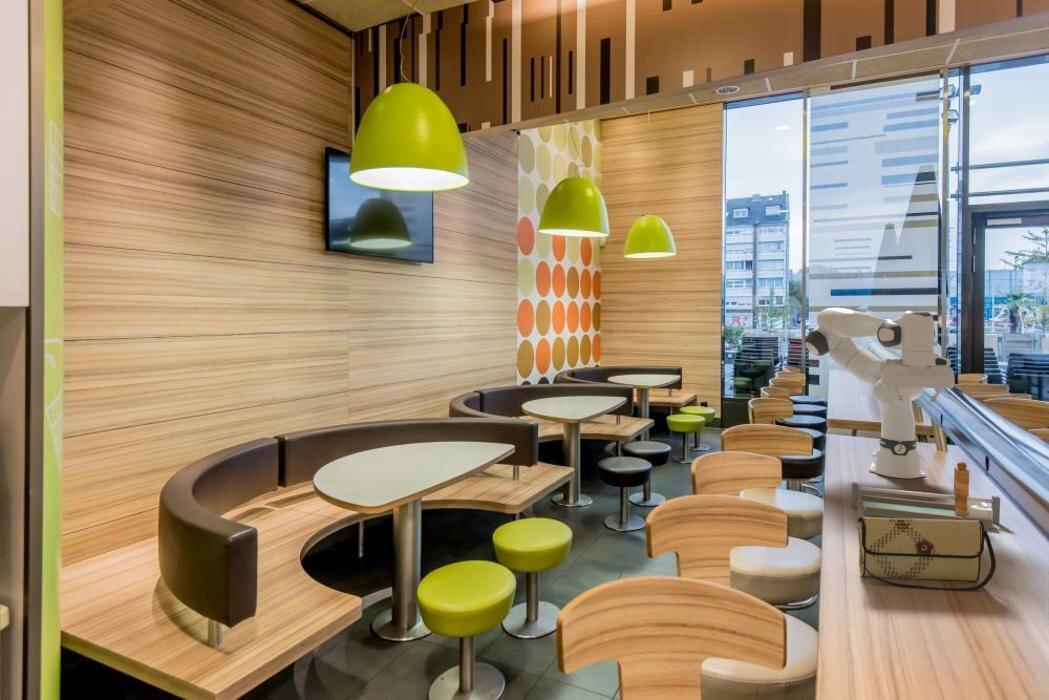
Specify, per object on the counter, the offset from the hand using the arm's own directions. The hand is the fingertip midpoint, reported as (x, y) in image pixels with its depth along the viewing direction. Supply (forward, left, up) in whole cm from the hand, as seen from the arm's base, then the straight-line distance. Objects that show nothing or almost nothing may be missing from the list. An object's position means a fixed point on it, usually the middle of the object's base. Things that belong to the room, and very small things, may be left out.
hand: (916, 400), depth 191 cm
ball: (+14, +14, -31) cm, 37 cm away
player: (+14, +10, -32) cm, 37 cm away
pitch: (+14, 0, -34) cm, 37 cm away
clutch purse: (+67, -8, -34) cm, 76 cm away
